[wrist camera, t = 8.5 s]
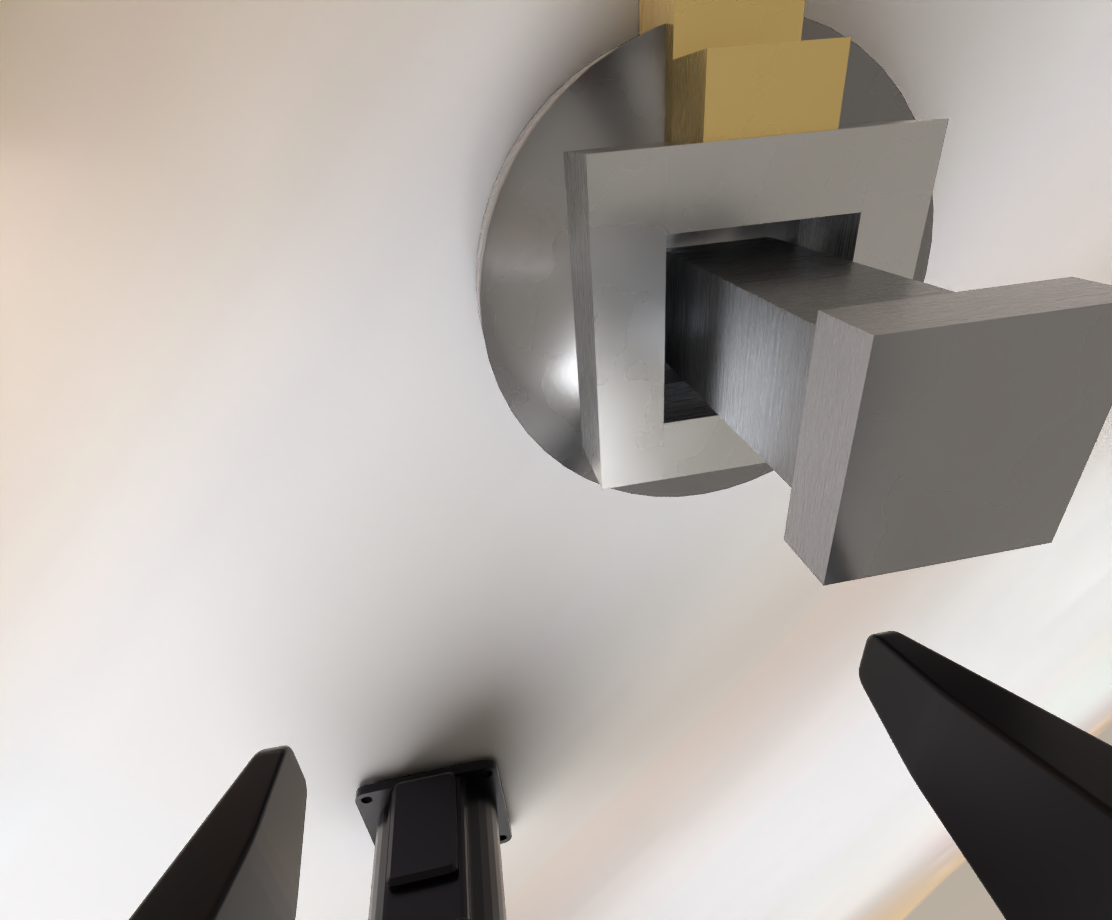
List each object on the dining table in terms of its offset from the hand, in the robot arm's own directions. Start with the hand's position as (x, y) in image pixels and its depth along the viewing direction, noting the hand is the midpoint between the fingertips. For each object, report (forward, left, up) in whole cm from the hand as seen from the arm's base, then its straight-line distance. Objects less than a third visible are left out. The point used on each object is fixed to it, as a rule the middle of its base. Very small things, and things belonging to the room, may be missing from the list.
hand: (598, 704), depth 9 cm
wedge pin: (+3, -6, -10) cm, 12 cm away
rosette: (+5, -6, -12) cm, 14 cm away
